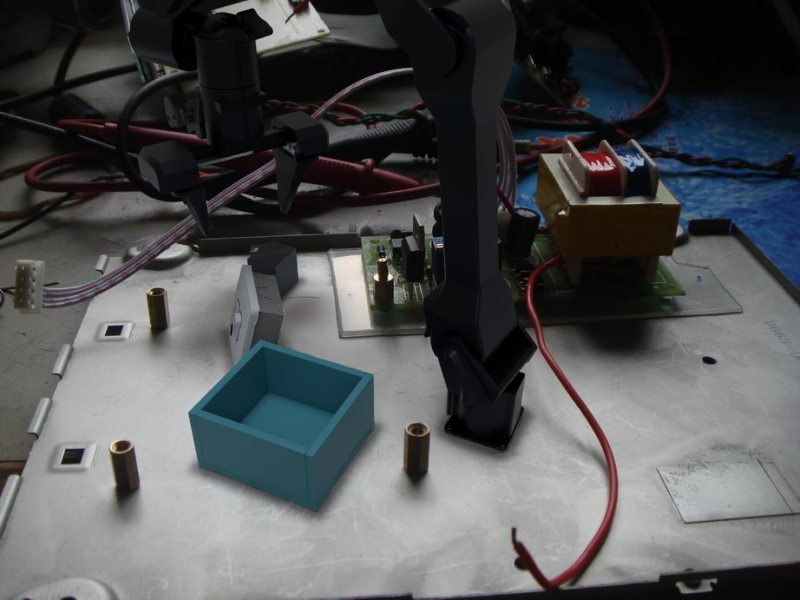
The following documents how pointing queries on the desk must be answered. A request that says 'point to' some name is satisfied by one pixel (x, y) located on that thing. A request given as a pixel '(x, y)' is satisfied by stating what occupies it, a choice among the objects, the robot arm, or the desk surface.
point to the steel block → (276, 264)
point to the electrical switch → (254, 312)
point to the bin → (284, 422)
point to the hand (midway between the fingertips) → (245, 223)
